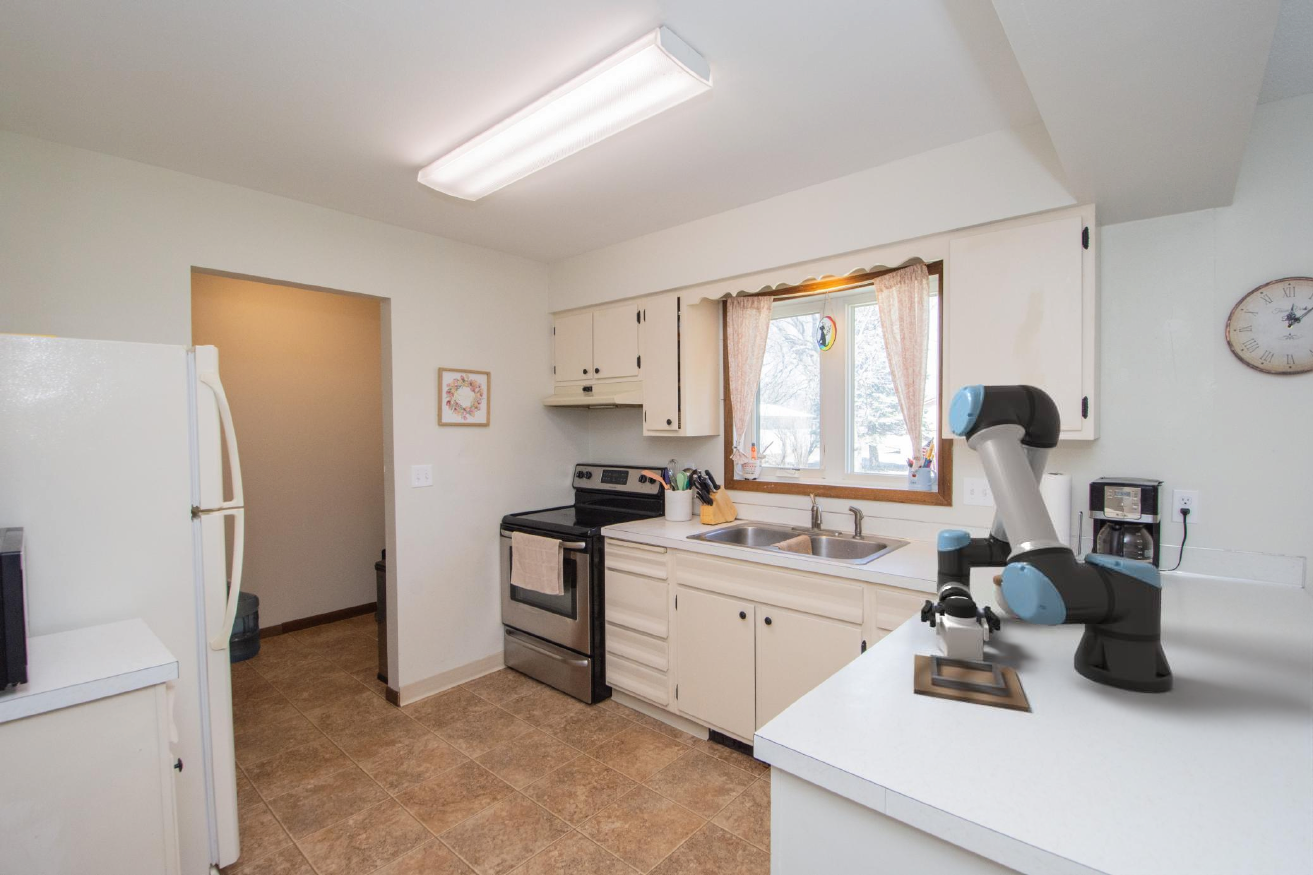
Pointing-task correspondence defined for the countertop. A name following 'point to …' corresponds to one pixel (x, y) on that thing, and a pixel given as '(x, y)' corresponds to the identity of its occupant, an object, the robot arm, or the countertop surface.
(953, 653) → the medicine bottle
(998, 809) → the countertop surface
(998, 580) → the lidded bowl
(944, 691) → the dock
